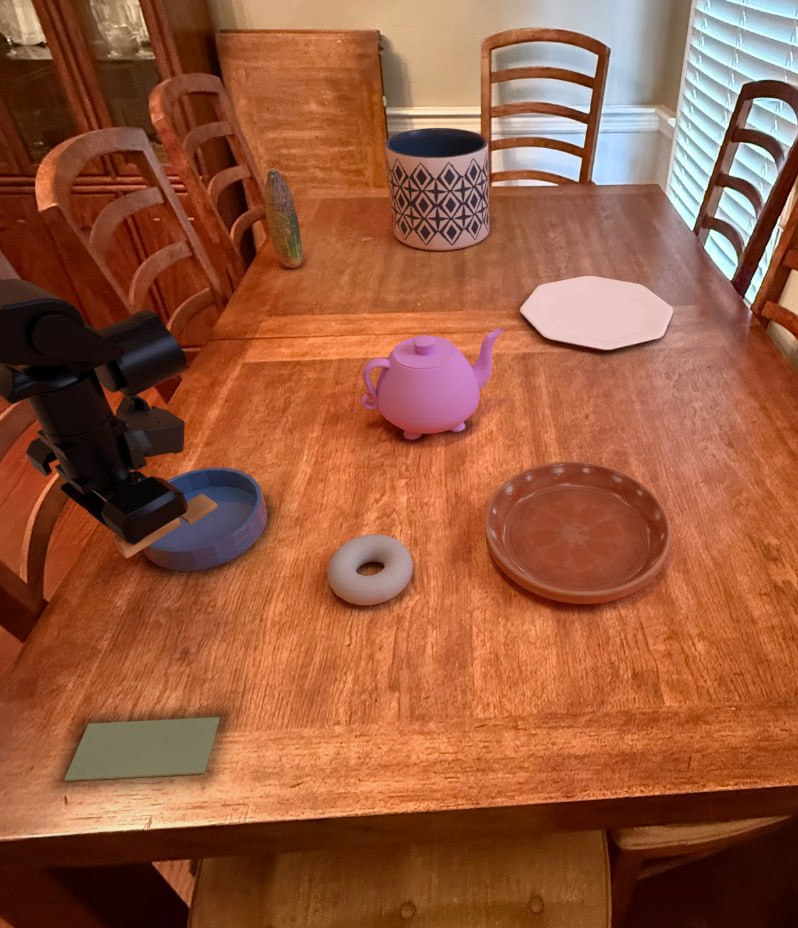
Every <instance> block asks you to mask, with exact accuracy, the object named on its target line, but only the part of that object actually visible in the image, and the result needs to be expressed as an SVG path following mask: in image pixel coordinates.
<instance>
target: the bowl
mask: <svg viewBox="0 0 798 928" xmlns="http://www.w3.org/2000/svg"><path fill="white" fill-rule="evenodd" d="M165 480H166V481H167V482H169V483H170V484H172V485H173V486H174V487H176V488H177V489H179V490H180V491H181V492H183V494H184V497H185V499H186V502H188V501H190V500H191V499H193V498H195V497H197V496H198V495H200V494H204V495H205V496H207V497H208V498H210V499H211V500H212V501H214V502H215V503H217V506H218V508H217V509H215V510H213V511H212V512H210V513H208V514H207V515H205V516H204V517H202V518H200V519H199V520H197V521H196V522H194V523H192V524H191V525H190V524H188V523H187V522H186V521H184V520H183V519H181V518H180V517H178V518H179V521H180V523H181V526H179V527H178V528H176V529H174V530H173V531H171V532H169V533H168V534H166V535H165V536H163V537H161V538H160V539H158V540H156V541H155V542H153V543H152V544H150V545H148V546H147V547H145V548H143V549H142V551H143V552H144V554H145V557H147V558H148V560H149V561H151V562H152V563H153V564H154V565H156V566H158V567H161V568H163V569H166V570H170V571H175V572H195V571H201V570H208V569H210V568H215V567H217V566H221V565H223V564H225V563H229V562H230V561H232V560H234V559H236V558H237V557H239V556H241V555H242V554H243V553H245V552H246V551H248V550H249V549H250V548H251V547H252V546H253V545H254V544H255V543H256V542H257V541H258V540H259V538H260V537H261V536H262V534H263V532H264V531H265V528H266V525H267V521H268V510H267V505H266V500H265V498H264V494H263V490H262V487H261V485H260V484H259V483H258V481H256V479H255V478H254V477H253V476H252V475H250V474H248V473H246V472H244V471H242V470H240V469H236V468H230V467H225V466H223V467H222V466H221V467H220V466H219V467H217V466H216V467H203V468H198V469H193V470H189V471H185V472H182V473H180V474H178V475H175V476H173V477H171V478H168V479H165Z"/></svg>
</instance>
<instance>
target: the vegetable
mask: <svg viewBox="0 0 798 928" xmlns="http://www.w3.org/2000/svg"><path fill="white" fill-rule="evenodd" d="M263 193H264V194H263V195H264V211H265V218H266V224H267V229H268V233H269V237H270V240H271V243H272V246H273V249H274V251H275V254H276V256H277V258H278V260H279V261H280V263H281V264H282V265H283V266H285V267H287V268H289V269H296V268H298V267H299V266H300V265H301V264H302V261H303V255H304V254H303V243H302V237H301V230H300V222H299V217H298V214H297V210H296V206H295V204H294V203H295V202H294V199H293V194H292V192H291V190H290V187H289V185H288V184H287V183H286V181H285V179H283V177H282V175H281V173H280V172H279V171H277V170H275V169H272V170H269V172H268V173H267V177H266V182H265V185H264V192H263Z"/></svg>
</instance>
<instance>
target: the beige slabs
mask: <svg viewBox="0 0 798 928" xmlns="http://www.w3.org/2000/svg"><path fill="white" fill-rule="evenodd" d="M187 505H188V509H187V512H186V513H185V514H183V515H181V516H180V518H181V519H183V520H184V521H186V522H187V523H188V524H190V525H191V524H192V523H194V522H196V521H197V520H199V519H200V518H202V517H204V516H205V515H207V514H208V513H210V512H212V511H213V510H215V509H217V508H218V506H217V503H215V502H214V501H212V500H211V499H210V498H208V497H207V496H205V495H204V494H200V495H198V496H197V497H195V498H193V499H191V500H190V501H188V502H187ZM179 526H181V523H180V521H179V518H176V519H175V520H173V521H171V522H170V523H168V524H166V525H165V526H163V527H162V528H160V529H158V530H157V531H155V532H153V533H152V534H150V535H148V536H147V537H145V538H143V539H142V541H140V542H139V543H137V544H135V545H132V544H131V543H126V542H125V541H124V540H123V539H122V538H120V537H119V536H118V535H117V534H115V535H113V536H112V540H113V542H114V544H115V546H116V548H117V550H118V552H119V554H120V555H122V556H123V557H124V558H126V559H129V558H131V557H132V556H134V555H136V554H137V553H139V552H140V551H143V548H145V547H147V546H148V545H150V544H152V543H153V542H155V541H156V540H158V539H160V538H161V537H163V536H165V535H166V534H168V533H169V532H171V531H173V530H174V529H176V528H178V527H179Z"/></svg>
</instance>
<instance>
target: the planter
mask: <svg viewBox="0 0 798 928" xmlns="http://www.w3.org/2000/svg"><path fill="white" fill-rule="evenodd" d="M384 149H385V159H386V161H385V162H386V169H387V171H386V172H387V180H388V189H389V191H388V192H389V200H390V208H391V209H390V210H391V218H392V228H393V234H394V236H395V238H396V239H397V240H398V241H399V242H401V243H403V244H405V245H407V246H409V247H411V248H415V249H419V250H425V251H434V252H435V251H437V252H439V251H441V252H445V251H455V250H460V249H464V248H469V247H471V246H473V245H476V244H479V243H480V242H481V241H483V240H484V239H485V238H486V237H487V236H488V234H489V233H490V173H489V172H490V170H489V169H490V165H489V164H490V163H489V141H488V139H487V138H486V137H485V136H484V135H482V134H480V133H478V132H475V131H471V130H468V129H461V128H454V127H453V128H451V127H428V128H425V127H424V128H416V129H411V130H406V131H402V132H399V133H395V134H394V135H392V136H390V137H388V139H387V138H386V141H385V142H384Z"/></svg>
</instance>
